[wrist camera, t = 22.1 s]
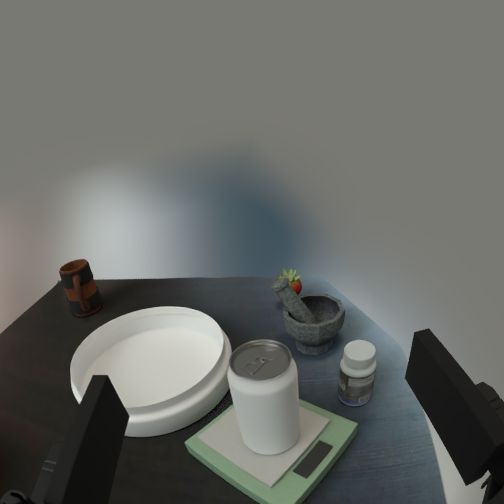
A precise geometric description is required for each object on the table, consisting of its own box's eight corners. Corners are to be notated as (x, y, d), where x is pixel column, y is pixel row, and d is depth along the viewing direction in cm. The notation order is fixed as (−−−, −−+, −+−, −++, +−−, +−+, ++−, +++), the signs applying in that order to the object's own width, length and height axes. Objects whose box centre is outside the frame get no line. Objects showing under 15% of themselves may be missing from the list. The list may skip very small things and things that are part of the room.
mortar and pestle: (345, 328, 54) (346, 266, 50) (341, 363, 46) (343, 296, 41) (283, 325, 58) (278, 265, 53) (270, 358, 49) (262, 293, 45)
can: (311, 429, 32) (311, 352, 27) (272, 466, 28) (261, 394, 23) (269, 405, 36) (259, 328, 32) (230, 436, 32) (209, 361, 28)
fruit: (299, 314, 60) (296, 276, 57) (272, 311, 62) (268, 275, 59) (305, 300, 65) (303, 265, 62) (280, 298, 67) (277, 263, 64)
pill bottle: (337, 383, 42) (340, 338, 39) (370, 382, 41) (376, 336, 38) (337, 408, 38) (341, 362, 35) (372, 406, 36) (380, 361, 33)
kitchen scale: (356, 434, 33) (359, 419, 32) (286, 519, 24) (285, 510, 22) (262, 391, 43) (260, 376, 41) (189, 452, 33) (182, 439, 32)
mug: (73, 328, 62) (55, 282, 58) (72, 306, 72) (57, 265, 68) (107, 317, 66) (91, 270, 62) (101, 296, 76) (88, 255, 72)
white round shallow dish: (157, 470, 30) (142, 446, 28) (54, 387, 44) (40, 363, 42) (265, 349, 52) (262, 322, 50) (153, 316, 65) (146, 293, 63)
